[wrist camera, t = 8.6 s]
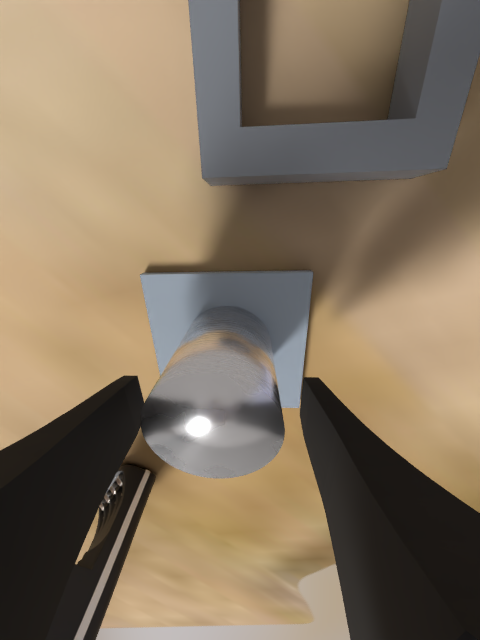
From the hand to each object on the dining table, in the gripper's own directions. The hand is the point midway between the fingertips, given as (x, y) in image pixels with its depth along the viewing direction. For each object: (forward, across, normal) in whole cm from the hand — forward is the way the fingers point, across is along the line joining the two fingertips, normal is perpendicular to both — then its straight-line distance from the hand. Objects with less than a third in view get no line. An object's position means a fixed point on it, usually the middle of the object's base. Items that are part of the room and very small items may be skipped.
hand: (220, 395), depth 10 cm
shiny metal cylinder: (+4, 0, 0) cm, 4 cm away
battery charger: (+5, +10, +14) cm, 18 cm away
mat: (+4, 0, 0) cm, 4 cm away
